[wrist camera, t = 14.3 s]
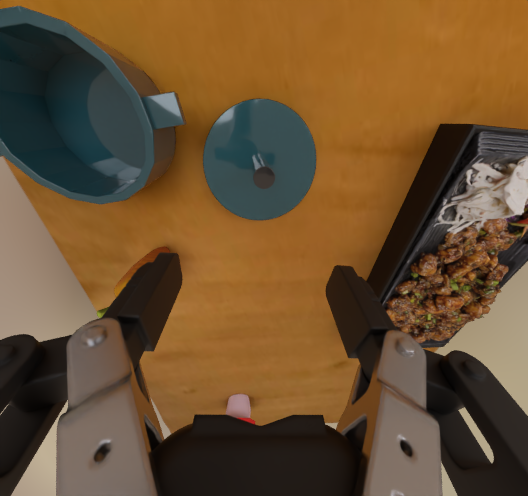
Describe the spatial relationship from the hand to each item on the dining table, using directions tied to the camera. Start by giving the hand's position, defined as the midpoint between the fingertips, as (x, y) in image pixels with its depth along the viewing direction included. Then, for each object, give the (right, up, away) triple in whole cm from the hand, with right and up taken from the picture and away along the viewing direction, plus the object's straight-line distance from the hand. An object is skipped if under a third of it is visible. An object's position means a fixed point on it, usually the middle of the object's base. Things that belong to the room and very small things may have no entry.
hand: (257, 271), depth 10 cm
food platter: (+34, -2, +29) cm, 45 cm away
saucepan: (-17, +15, +12) cm, 26 cm away
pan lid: (0, +12, +16) cm, 20 cm away
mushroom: (-8, -48, +55) cm, 73 cm away
